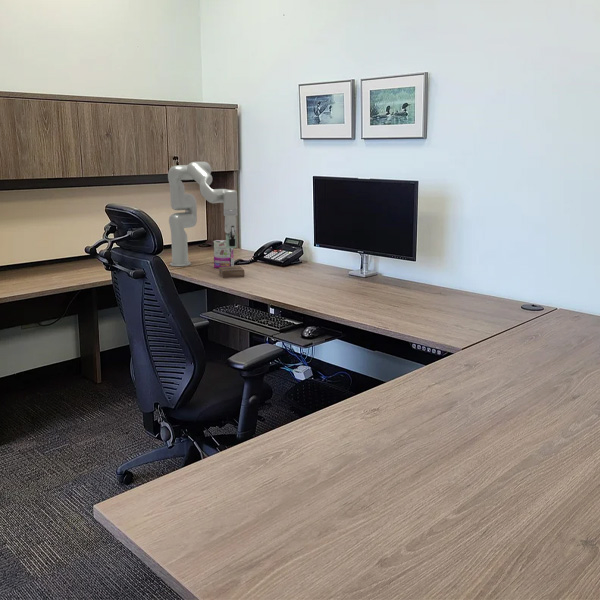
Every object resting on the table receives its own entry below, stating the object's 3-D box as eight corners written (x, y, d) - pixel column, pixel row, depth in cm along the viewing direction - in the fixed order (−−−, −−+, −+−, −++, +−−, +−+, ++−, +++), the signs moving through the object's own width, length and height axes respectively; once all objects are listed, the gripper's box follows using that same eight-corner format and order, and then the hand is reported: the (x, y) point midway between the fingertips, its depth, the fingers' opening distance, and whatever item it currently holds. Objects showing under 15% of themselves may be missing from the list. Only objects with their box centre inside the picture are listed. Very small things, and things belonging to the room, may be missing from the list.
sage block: (226, 246, 350) (225, 234, 348) (234, 246, 351) (234, 234, 349) (227, 248, 345) (227, 235, 343) (236, 247, 346) (236, 235, 345)
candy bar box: (234, 267, 374) (233, 240, 370) (231, 269, 369) (230, 241, 366) (217, 266, 377) (216, 239, 373) (213, 268, 373) (213, 240, 369)
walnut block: (219, 273, 356) (218, 266, 355) (239, 272, 359) (239, 265, 358) (222, 278, 345) (222, 270, 344) (244, 276, 348) (244, 269, 347)
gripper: (221, 211, 350) (221, 243, 355) (226, 214, 335) (227, 248, 339) (234, 211, 353) (234, 243, 357) (240, 214, 337) (241, 247, 341)
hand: (231, 245), depth 348 cm, fingers closed on sage block, 5 cm apart
